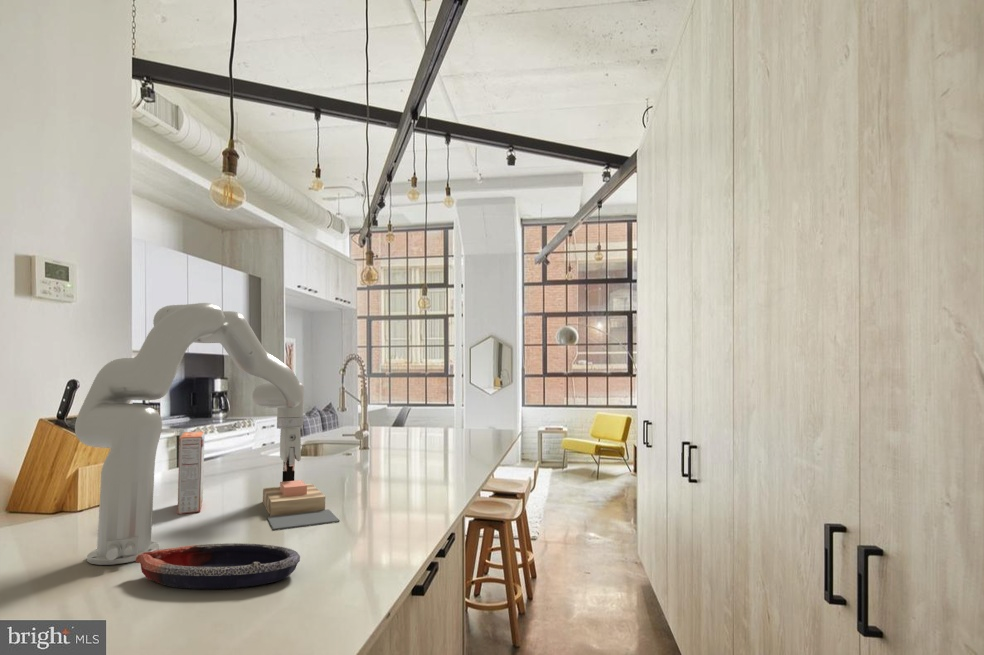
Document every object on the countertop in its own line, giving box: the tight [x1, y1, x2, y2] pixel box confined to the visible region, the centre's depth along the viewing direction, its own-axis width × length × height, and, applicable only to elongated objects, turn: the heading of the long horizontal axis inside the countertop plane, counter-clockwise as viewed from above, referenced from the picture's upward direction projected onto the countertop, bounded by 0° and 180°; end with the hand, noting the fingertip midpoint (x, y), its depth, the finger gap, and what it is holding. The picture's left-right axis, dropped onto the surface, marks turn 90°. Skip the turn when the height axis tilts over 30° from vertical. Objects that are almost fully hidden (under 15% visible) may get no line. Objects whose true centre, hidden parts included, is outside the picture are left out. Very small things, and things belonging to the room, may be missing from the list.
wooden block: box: [262, 483, 326, 516], centre depth 159 cm, size 20×14×4 cm
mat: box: [266, 509, 341, 531], centre depth 144 cm, size 13×16×1 cm
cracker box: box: [177, 430, 205, 515], centre depth 158 cm, size 14×6×21 cm, turn 25°
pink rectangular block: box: [279, 479, 307, 496], centre depth 159 cm, size 9×6×2 cm, turn 28°
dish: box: [135, 542, 301, 590], centre depth 104 cm, size 16×31×5 cm, turn 85°
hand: (288, 484), depth 167 cm, fingers closed
